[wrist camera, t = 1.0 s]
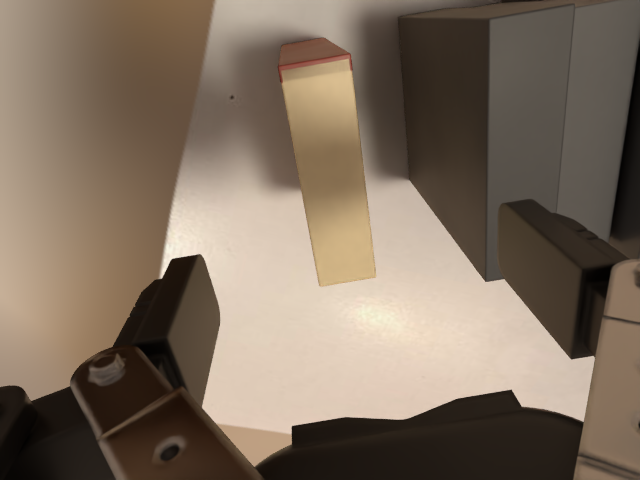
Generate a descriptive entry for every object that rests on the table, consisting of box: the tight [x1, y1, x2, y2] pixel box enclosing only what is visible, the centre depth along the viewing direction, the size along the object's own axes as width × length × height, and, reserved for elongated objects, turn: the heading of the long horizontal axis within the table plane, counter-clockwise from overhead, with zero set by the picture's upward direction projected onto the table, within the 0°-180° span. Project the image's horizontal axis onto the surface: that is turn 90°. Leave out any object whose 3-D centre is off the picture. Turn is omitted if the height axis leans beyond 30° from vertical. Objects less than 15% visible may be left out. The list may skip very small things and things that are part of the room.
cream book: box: [278, 38, 376, 287], centre depth 23 cm, size 9×2×12 cm, turn 9°
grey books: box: [398, 0, 640, 282], centre depth 22 cm, size 10×9×14 cm
